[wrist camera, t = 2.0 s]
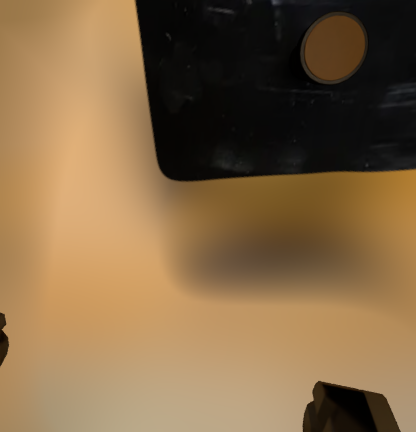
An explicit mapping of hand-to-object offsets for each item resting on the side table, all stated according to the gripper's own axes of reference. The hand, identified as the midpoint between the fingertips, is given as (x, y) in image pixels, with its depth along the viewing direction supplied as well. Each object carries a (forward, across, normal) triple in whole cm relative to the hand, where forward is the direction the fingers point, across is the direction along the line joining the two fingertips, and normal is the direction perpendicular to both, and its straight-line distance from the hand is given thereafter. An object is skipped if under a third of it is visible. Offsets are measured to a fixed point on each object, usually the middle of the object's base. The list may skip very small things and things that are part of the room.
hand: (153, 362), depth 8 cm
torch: (+32, -6, -10) cm, 34 cm away
